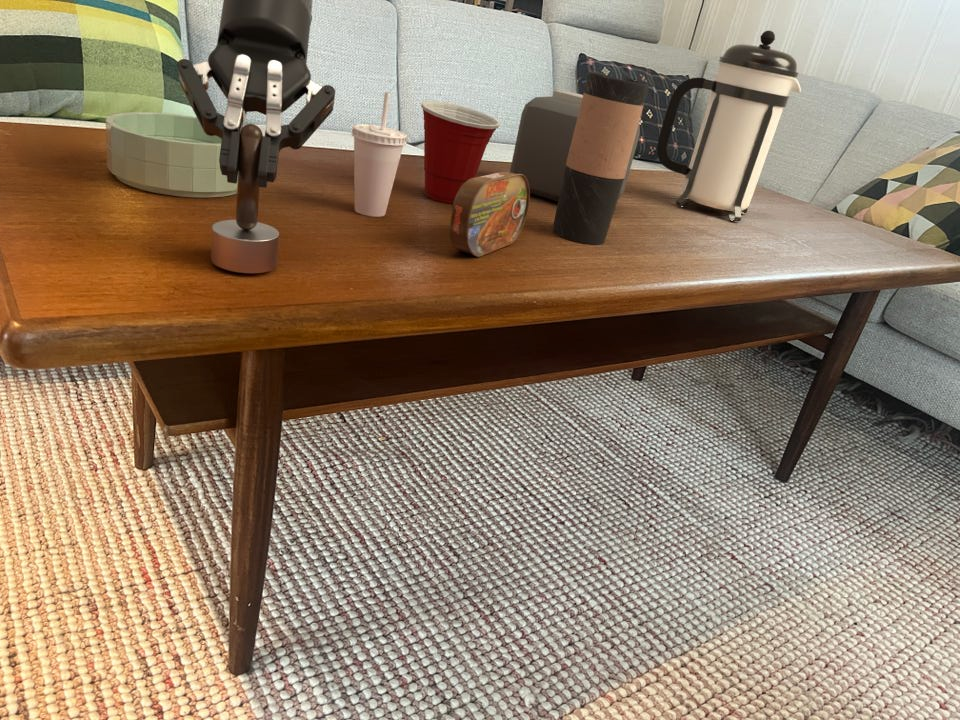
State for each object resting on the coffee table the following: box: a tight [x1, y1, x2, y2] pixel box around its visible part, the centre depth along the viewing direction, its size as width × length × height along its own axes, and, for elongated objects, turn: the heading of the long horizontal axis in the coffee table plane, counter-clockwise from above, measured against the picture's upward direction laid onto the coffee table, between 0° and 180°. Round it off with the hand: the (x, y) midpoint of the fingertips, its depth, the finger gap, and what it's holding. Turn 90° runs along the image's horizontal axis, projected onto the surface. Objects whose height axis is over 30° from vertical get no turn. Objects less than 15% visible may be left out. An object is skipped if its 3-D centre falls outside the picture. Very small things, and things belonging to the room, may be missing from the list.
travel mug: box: [552, 70, 649, 245], centre depth 93 cm, size 8×8×20 cm
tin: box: [449, 171, 531, 258], centre depth 82 cm, size 15×3×8 cm, turn 151°
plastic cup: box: [420, 100, 501, 205], centre depth 99 cm, size 11×11×12 cm
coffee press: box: [656, 30, 802, 222], centre depth 125 cm, size 17×16×30 cm
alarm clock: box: [509, 89, 641, 203], centre depth 112 cm, size 16×11×16 cm
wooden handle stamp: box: [210, 123, 280, 274], centre depth 62 cm, size 6×6×12 cm
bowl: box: [105, 111, 238, 199], centre depth 84 cm, size 15×15×6 cm
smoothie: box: [351, 91, 408, 218], centre depth 85 cm, size 6×6×14 cm
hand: (247, 179), depth 60 cm, fingers closed on wooden handle stamp
